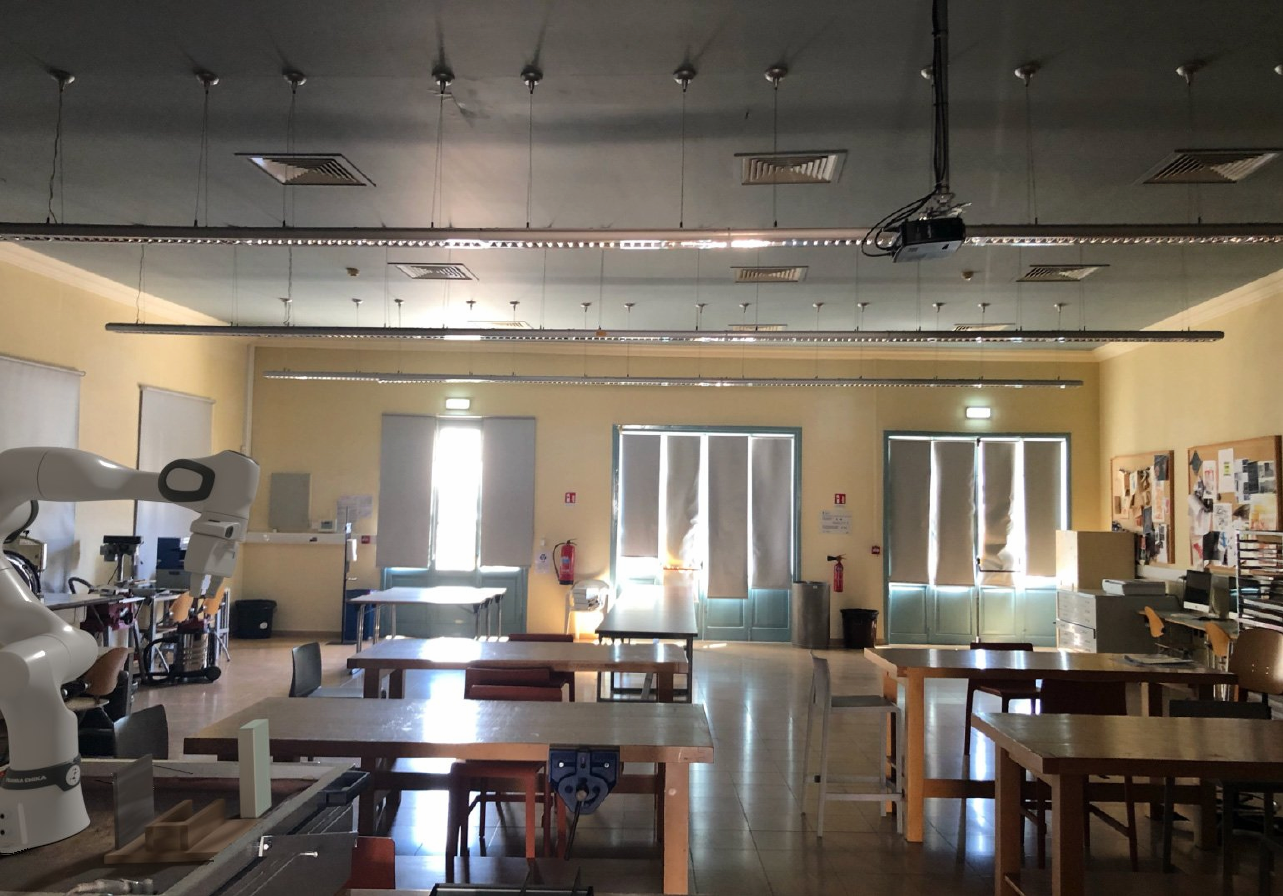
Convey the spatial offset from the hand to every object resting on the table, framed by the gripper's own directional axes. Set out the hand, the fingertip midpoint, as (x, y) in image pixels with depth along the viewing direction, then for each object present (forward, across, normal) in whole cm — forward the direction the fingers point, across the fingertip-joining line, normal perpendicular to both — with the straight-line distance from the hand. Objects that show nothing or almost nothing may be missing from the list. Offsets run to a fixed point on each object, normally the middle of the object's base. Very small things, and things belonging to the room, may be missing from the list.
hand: (202, 597), depth 163 cm
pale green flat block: (+40, -11, +18) cm, 46 cm away
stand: (+45, +1, +10) cm, 46 cm away
